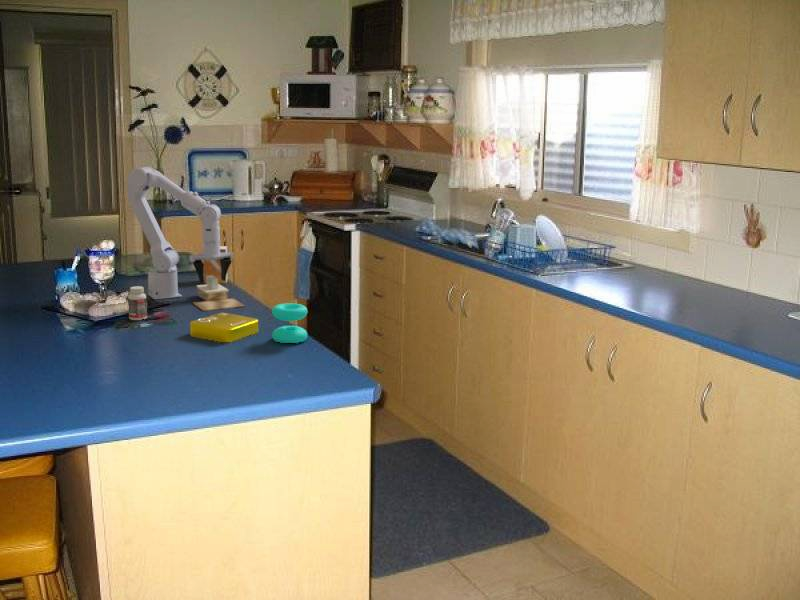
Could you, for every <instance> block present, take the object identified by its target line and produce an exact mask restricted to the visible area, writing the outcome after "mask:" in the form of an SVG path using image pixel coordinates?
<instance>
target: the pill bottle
mask: <svg viewBox="0 0 800 600" xmlns="http://www.w3.org/2000/svg"><path fill="white" fill-rule="evenodd" d="M144 292H145V289H144V286H141V285H137V286H131V287H129V293H130V294H128V296H127V299H128V300H127V303H128V319H129V320H131V321H143V320H142V319H144V320H146V319H147V318H148V307H147V306H148V304H147V295H146V294H145V293H144Z"/></svg>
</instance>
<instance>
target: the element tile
mask: <svg viewBox="0 0 800 600" xmlns="http://www.w3.org/2000/svg"><path fill="white" fill-rule="evenodd" d="M189 325H190V326H189V330H190V331H189V332H190V333H189V334H190V337H193V338H198V339H203V340H206V339H208V341H211V340H214V341H213V342H216V341H218V342H217V343H220V342H231V343H233V342H232V341H235V340H237V341H239V340H238V339H240V340H242V339H241V338H243V337H246V336H249V335H251V336H253V335H252V334H254V335H256V334H255V333H257V332H258V333H259V319H258V318H255V317H249V316H245V315H239V314H235V313H234V314H233V313H229V312H224V311H223V312H217V313H214V314H212V315H209V316H205V317H201V318H198V319H195V320H191V321H190V323H189ZM258 333H257V334H258ZM249 337H250V336H249ZM246 338H247V337H246ZM243 339H244V338H243ZM235 342H236V341H235Z"/></svg>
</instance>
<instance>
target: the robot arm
mask: <svg viewBox="0 0 800 600" xmlns="http://www.w3.org/2000/svg"><path fill="white" fill-rule="evenodd" d="M126 182H127V199H128V202H129V204H130V206H131V208H132V211H133V212H134V214H135V216H136V219H137V220H138V223H139V225H140V227H141V229H142V231H143V233H144V235H145V238H146V239H147V241H148V243H149V245H150V256H151V259H152V260H151V262H152V266H153V268H154V270H153V271H149V272H148V275H147V284H148V286H147V287H148V289H147V290H148V293H147V295H148V296H150V298H152V299H153V300H163V299H171V298H172V299H173V298H174V299H175V298H182V297H183V295H182V294H180V293H179V288H178V285H179V284H178V283H179V282H178V267H177V264H178V263H179V261H180V255H179V254H178V252H177V251H176V250H175V249H174V248H173V247H172V245H171V243H169V241H167V240H166V238H165V236H164V234H163V232H162V230H161V227H160V226H159V224H158V221H157V219H156V217H155V215H154V213H153V211H152V209H151V207H150V205H149V204H150V203H148V201H147V195H148V192H149V190H150V189H151V188H160V190H163V191H165V192H166V193H168V194H169V195H170V196H173V197H174V198H176V199H178V200H180V203H181V206H182V207H184V208H185V209H187V210H188V211H189V212H191V213H193V214H194V215H196V217H199V220H200V221H201V223H202V225H201V226H202V227H201V232H202V233H201V234H202V235H201V236H202V253H196V254H191V255H189V262H190V263H192V265H193V267H194V269H195V271H196V273H197V275H198V281H199V282H200V283H204V261H205V260H217V259H220V264H221V279H222V280H223V281H224V280H225V279H226V274H227V275H228V271H229V268H230V265H231V264H232V260H233V259H234V252H232V251H227V252H220V246H221V235H220V234H221V230H220V228H221V227H220V219H221V217H222V211H221V208H220V207H219V206H218V205H217V204H216V203H211V201H209V200H205V199H204V198H202V197H201V196H199V193H198V192H197V191H194V192H193V191H186V190H184V189H183V188H181V186H179V185H177V184H176V183H175V182H174V181H172V180H171V179H169V178H168V177H167V176H165V175H164V174H163V173H161V172H160V171H159V170H156V169H154V168H153V167H151V166H149V165H146V166H143V167H138V168H133V169H131V171H130V172H129V175H128V176H127V178H126Z"/></svg>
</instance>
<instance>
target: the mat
mask: <svg viewBox="0 0 800 600" xmlns="http://www.w3.org/2000/svg"><path fill="white" fill-rule="evenodd" d="M192 304H193V305H194V306H195V307H196V308H198V309H199V310H201V311H203V312H209V311H210V312H211V311H218V310H219V311H220V310H228V308H229V309H236V308H235V307H239V308H244V307H243V306H245V307H246V305H244V304H243V303H241V302H240V301H238V300H236V299H235V298H234V297H233V298H228V299H222V300H212V301H205V300H203V301H195V302H194V301H193V302H192Z"/></svg>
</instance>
